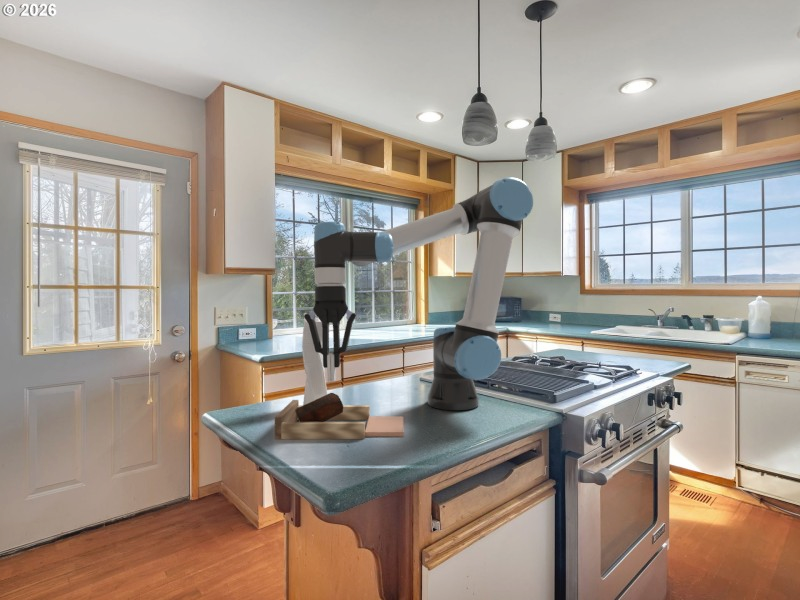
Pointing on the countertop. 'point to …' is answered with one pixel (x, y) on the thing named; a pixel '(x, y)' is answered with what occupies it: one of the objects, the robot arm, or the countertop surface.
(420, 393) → the countertop surface
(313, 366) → the skyscraper
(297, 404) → the channel
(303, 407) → the brick
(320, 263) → the robot arm
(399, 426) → the tile
